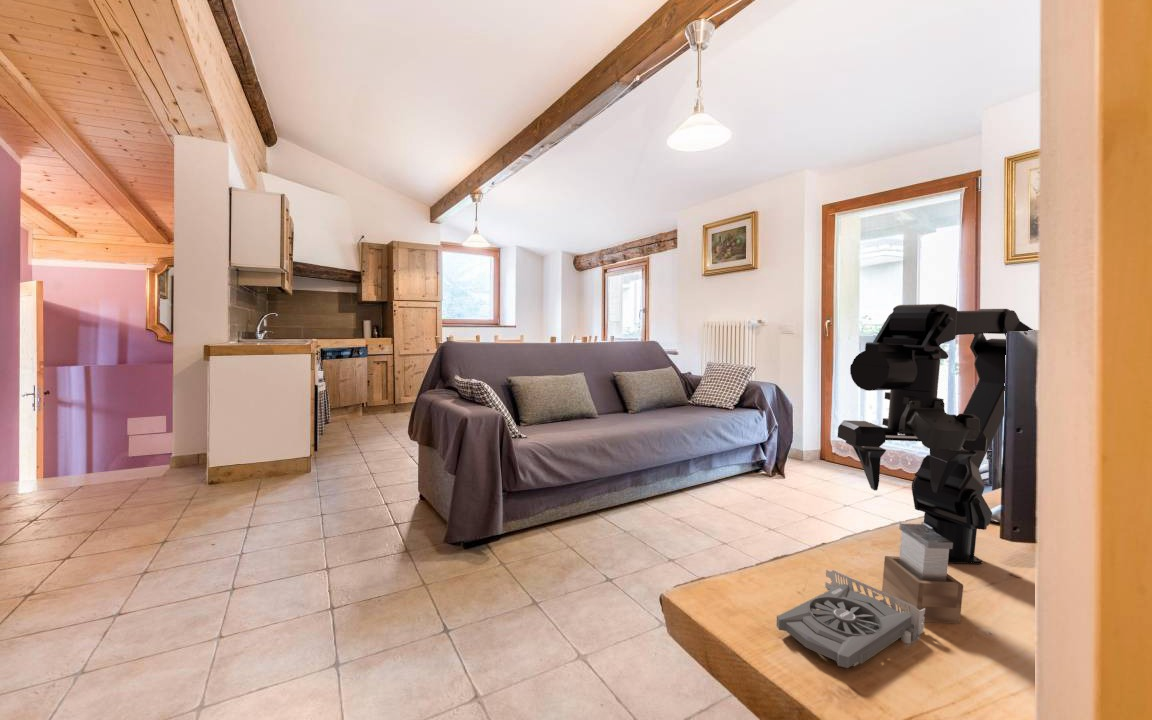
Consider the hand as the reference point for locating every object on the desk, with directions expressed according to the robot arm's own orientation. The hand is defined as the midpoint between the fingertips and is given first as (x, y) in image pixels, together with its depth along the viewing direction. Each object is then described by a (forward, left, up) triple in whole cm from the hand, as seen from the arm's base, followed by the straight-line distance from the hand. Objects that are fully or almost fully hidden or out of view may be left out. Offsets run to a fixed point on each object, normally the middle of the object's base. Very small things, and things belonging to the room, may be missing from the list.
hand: (904, 490), depth 73 cm
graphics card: (+17, +16, -13) cm, 27 cm away
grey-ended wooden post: (+4, +10, -10) cm, 15 cm away
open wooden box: (+4, +10, -12) cm, 16 cm away
